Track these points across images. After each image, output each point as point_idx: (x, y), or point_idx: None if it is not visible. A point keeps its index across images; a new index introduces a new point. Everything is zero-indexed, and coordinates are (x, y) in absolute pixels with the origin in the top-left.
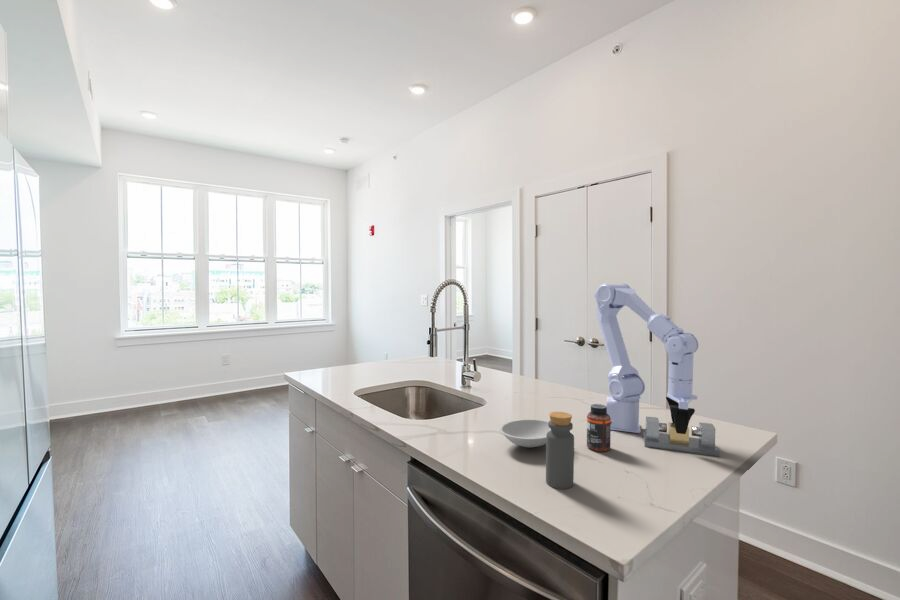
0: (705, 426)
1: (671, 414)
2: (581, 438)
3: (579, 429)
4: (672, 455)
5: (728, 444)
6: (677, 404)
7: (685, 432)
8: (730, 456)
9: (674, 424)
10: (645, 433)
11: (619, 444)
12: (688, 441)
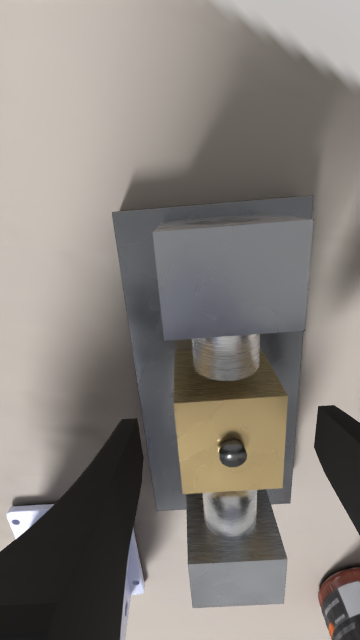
0: (280, 302)
1: (132, 528)
2: (277, 624)
3: (188, 635)
4: (351, 395)
5: (34, 101)
6: (104, 615)
7: (342, 412)
8: (268, 124)
9: (212, 468)
10: (181, 503)
11: (291, 544)
12: (264, 354)
